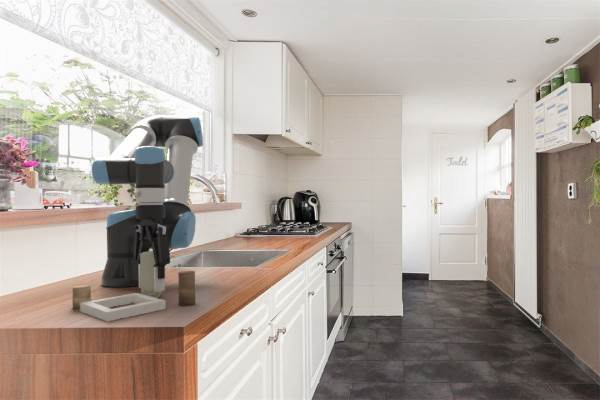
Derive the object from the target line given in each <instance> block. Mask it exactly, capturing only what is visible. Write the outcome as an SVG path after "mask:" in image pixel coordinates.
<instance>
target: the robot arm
mask: <svg viewBox="0 0 600 400" xmlns="http://www.w3.org/2000/svg"><path fill="white" fill-rule="evenodd" d="M201 124H202V123H201V120H200V117H199V116H197V115H190V114H186V115H166V114H165V115H164V114H163V115H162V114H157V115H152V116H150V117H149V116H148V117H146V118H144V119H142V120H140V121H138V122H137V123H135V124H134V125H133V126H132V127H131V128H130V129H129V131H128V135H127V137H126V138H125V139H124V141H122V143H121V144H120V145H119V146H118V147H117V148H116V149H115V150H114V151H113V152H112V154H111V155H110V156H109V157H108V158H105V157H103V158H95V159H94V160H93V161H92V165H91V176H92V179H93V181H94V182H95V183H96V184H98V185H108V186H110V185H135V192H134V195H135V203H136V204H137V205H136V206H135V209H130V210H129V209H127V210H121V211H115V212H110V213H108V215H107V219H106V227H105V229H106V253H107V254H106V256H107V257H106V258H107V259H106V263H105V265H104V269H103V272H102V275H101V277H100V278H101V279H100V281H101V286H104V287H110V288H116V287H117V288H120V287H121V288H123V287H134V286H135V287H136V286H138V289H141V268H140V253H143V252H146V251H150V250H152V251H153V254H154V259H155V265H153V266H154V292H157V291H162V292H163V291H166V286H165V283H166V281H165V280H166V266H167V265H170V264H171V257H170V250H171V249H172V250H177V249H186V248H188V247H190V246H191V244H193V243H192V242H193V240H194V237H195V233H196V232H195V231H196V224H197V223H196V220H197V219H196V215H195V213H194V212H192V209H191V207H190V206H189V205H188V202H189V195H190V194H189V193H190V183H191V175H192V174H191V173H192V165H193V157H194V155H195V154H197V152H198V149H199V148H201V147H204V137H203V130H202V125H201ZM164 148H165V149H166V151H167V152H168V153H167V159H166V156H165V149H164Z"/></svg>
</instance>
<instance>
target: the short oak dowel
mask: <svg viewBox="0 0 600 400" xmlns="http://www.w3.org/2000/svg"><path fill="white" fill-rule="evenodd" d="M71 289H72V292H71V293H72V310H80V303H82V302H88V301H92V300H91V299H92V290H91V289H92V286H91V285H87V284H86V285H77V286H72V288H71Z"/></svg>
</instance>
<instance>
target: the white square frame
mask: <svg viewBox="0 0 600 400" xmlns="http://www.w3.org/2000/svg"><path fill="white" fill-rule="evenodd" d="M166 303H167V302H166V300H165V299H161V298H159V297H158V298H154V297H150V296H146V295H142V294H141V293H138V292H132V293H127V294H122V295H115V296H110V297H106V298H100V299H95V300H91V301H88V302H82V303H80V309H79V312H81V313H84V314H87V315H89V316H91V317H95V318H97V319H100V320H101V321H102V320H103V321H105V322H112V321H116V319H117V320H121V319H120V318H122V319H125V318H130V316H131V317H134V316H139V315H143V314H144V315H145V314H148V313H153V312H158V311H162V310H166V307H167V304H166ZM129 304H130V305H129ZM119 305H120V306H121V307H120V306H119ZM114 306H115V307H116V308H114ZM118 306H119V307H118Z"/></svg>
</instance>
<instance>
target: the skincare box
mask: <svg viewBox="0 0 600 400" xmlns="http://www.w3.org/2000/svg"><path fill="white" fill-rule="evenodd" d="M153 265H155V259H154V254H153V250H149V251H146V252H143V253H140V268H141V288H140V294H142V295H146V296H150V297H154V298H158V299H159V298H160V297H161V296H162V295H163V291H157V292H154V266H153Z"/></svg>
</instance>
